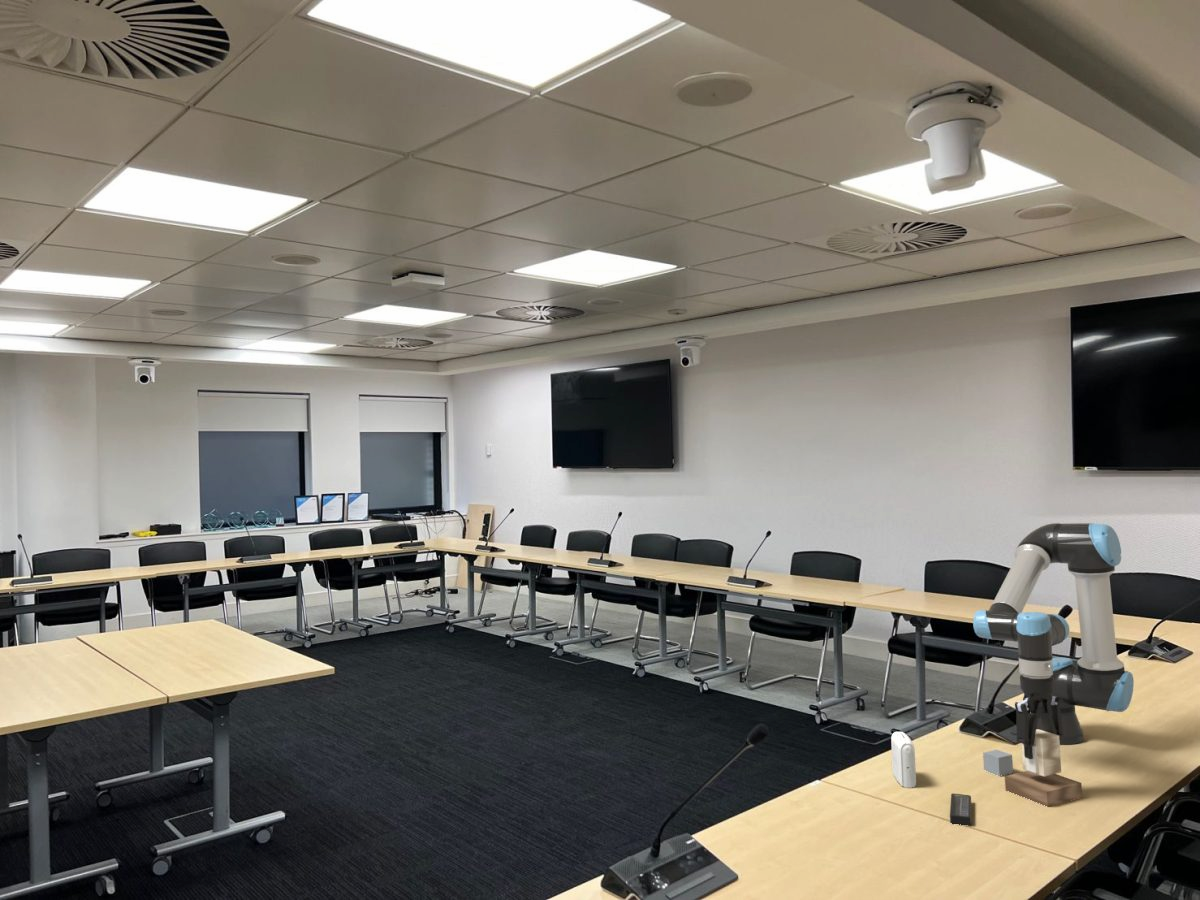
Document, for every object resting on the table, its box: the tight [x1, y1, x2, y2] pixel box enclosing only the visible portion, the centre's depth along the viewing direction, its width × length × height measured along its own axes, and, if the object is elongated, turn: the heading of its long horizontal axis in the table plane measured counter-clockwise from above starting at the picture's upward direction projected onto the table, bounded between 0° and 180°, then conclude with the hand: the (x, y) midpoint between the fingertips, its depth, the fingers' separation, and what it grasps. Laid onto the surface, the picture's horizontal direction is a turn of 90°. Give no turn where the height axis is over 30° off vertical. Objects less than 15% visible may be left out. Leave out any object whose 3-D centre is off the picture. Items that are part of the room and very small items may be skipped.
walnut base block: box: [1004, 770, 1083, 808], centre depth 205 cm, size 12×12×4 cm
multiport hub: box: [949, 793, 972, 827], centre depth 196 cm, size 4×14×2 cm, turn 156°
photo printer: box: [890, 731, 917, 789], centre depth 218 cm, size 10×4×12 cm, turn 175°
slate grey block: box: [982, 749, 1014, 777], centre depth 221 cm, size 5×5×5 cm
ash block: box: [1021, 729, 1062, 776], centre depth 206 cm, size 6×6×9 cm
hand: (1041, 768), depth 206 cm, fingers closed on ash block, 6 cm apart
